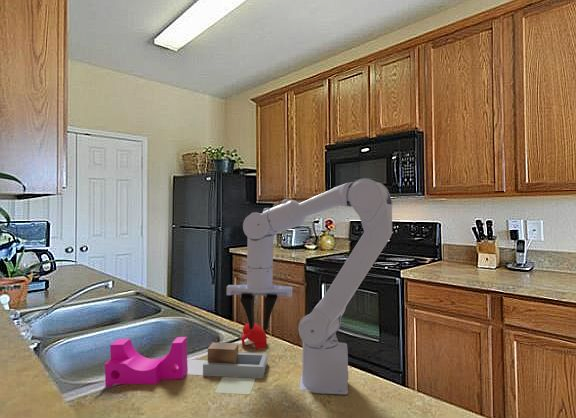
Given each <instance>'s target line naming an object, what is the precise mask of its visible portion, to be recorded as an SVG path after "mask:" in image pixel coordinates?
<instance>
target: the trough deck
mask: <svg viewBox="0 0 576 418" xmlns="http://www.w3.org/2000/svg"><path fill="white" fill-rule="evenodd" d="M267 364H268V354H267V353H252V352H250V353H249V352H238V364H226V363H208V359H207V360H204V359H187V368H188V371H187V373H186V374H185V376H186V375H187V376H206V377H208V376H210V377H211V376H212V377H232V378H255V379H263V378H264V375H265V372H266V370H267V369H266V368H267V366H268V365H267Z"/></svg>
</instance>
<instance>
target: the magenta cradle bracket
mask: <svg viewBox="0 0 576 418" xmlns="http://www.w3.org/2000/svg"><path fill="white" fill-rule="evenodd" d="M131 339H132V338H118V339H116V340H115V341H113V342H112V343H110V344H109V345H110V346H109V347H110V348H109V349H110V350H109V352H110V359H109V360H108V361H106V362H105V363H104V379H105V381H104V382H105V384H104V385H105V387H113V386H114V385H115V384H116V385H119V384H121V385H124V384H125V385H157V384H158V383H159V381H160V380H177V379H178V380H180V379H181V380H183V379H184V378H185V376H186V375H185V374H186V373H187V371H188V368H187V360H188V349H187V348H188V346H187V345H188V343H187V342H188V341H187V340H188V339H187V336H177V337H176V338H175V339H174V340H173V341H172V342H171V347H170V350H169V351H168V353H167V354H166V355H164V356H163V357H158V358H148V357H145V356H143V355H141V354H140V353H139V352H138V351H137V350H136V349H135V347H134V345H133V344H132V340H131Z"/></svg>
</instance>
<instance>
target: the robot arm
mask: <svg viewBox="0 0 576 418" xmlns="http://www.w3.org/2000/svg"><path fill="white" fill-rule="evenodd" d="M393 203H394V202H393V199H392V196H391V195H390V192H389V189H388V188H387V186H385V185H384V184H383V183H381V182H378V181H375V180H373V179H371V178H360V179H358V180H355V181H354V182H353V181H351V182H346V183H344V184H341V185H338V186H335V187H333V188H331V189H329V190H327V191H324V192H322V193H320V194H318V195H315V196H313V197H310V198H308V199H307V200H304V201H302V202H298V201H297V200H295V199H287V198H285V199H283V200H281V204H278V205H276V206H273V207H264V208H263V211H262V213H260V212H251V213H250V214H249V215H247V216H246V217H245V218H244V220H243V223H242V230H243V233H244V235H245V236H246V237H247V247H246V248H247V249H246V250H247V251H246V253H247V256H246V259H247V260H246V284H228V285H227V286H226V296H233V295H234V296H239V295H240V303H241V304H242V307H243V310H244V311H245V314H246V318H247V321H248V322H247V323H249V329H253V327H254V323H255V297H256V296H264V297H265V298H264V322H263V323H264V324H263V326H264V327H263V328H264V329H263V330H264V331H265V330H268V329H269V327H270V326H269V325H270V320H271V315H272V311H273V309H274V306H275V304H276V302H277V299H278V298H279V297H287V298H292V297H293V286H286V285H285V286H284V285H275V284H274V283H273V276H274V275H273V272H274V271H273V270H274V267H273V265H274V264H273V263H274V237H275V236H276V234H277V235H278V234H280V233H283V232H287V231H288V230H291V229H294V228H296V227H299V226H302V225H303V224H304V222H305V220H306V218H307V217H309V216H312V215H315V214H319V213H321V212H325V211H327V210H331V209H333V208H336V207H347V208H348V207H349V208H350V207H352V208H353V210H354V212H356V214H357V215H358V217H359V219H360V223H361V226H362V229H363V234H362V235H361V237H360V238H359V240H358V241H357V243H356V245H355V246H354V248H353V249H352V251H351V253H350V254H349V256H348V257H347V259H346V261H345V262H344V264H343V265H342V267H341V268H340V270H339V271H338V273H337V275H336V276H335V277H334V280H333V281H332V283H331V284H330V286H329V287H328V289H327V291H326V293H325V294H324V295H323V297H322V298H321V299H320V300H319V302H318V303H317V304H316V305H315V307H314V308H313V309H312V311H311V312H310V313H309V314H306V315H305V316H303V317H302V318H301V319H300V321H299V323H298V327H297V328H298V329H297V330H298V334H299V337H300V339H301V341H302V366H301V368H302V369H301V370H302V371H301V374H300V380H299V381H300V382H299V391H301V392H311V394H324V395H325V394H327V395H328V394H329V395H348V393H349V391H348V387H349V386H348V381H349V355H348V353H349V351H348V344H347V343H346V342H340V341H338V337H337V334H336V333H337V332H338V331H339V330H340V328H341V324H342V323H341V322H342V316H343V315H344V313H345V311H346V307H347V306H348V304H349V302H350V301H351V299H352V298H353V296H355V293H356V292H357V290H358V288H359V287H360V285H361V284H362V282H363V281H364V279H365V278H366V276H367V274H368V273H369V271H370V270H371V268H372V267H373V265H374V264H375V262H376V261H377V259H378V258H379V256H380V254H381V253H382V252H383V249H384V248H385V247H386V245H387V243H389V240H390V239H391V237H392V235H393Z"/></svg>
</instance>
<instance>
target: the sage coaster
mask: <svg viewBox="0 0 576 418" xmlns="http://www.w3.org/2000/svg"><path fill="white" fill-rule="evenodd" d="M255 381H256V378H250V377H228V376H221V379H220V382H219V383H218V385H217V386H216V389H215V391H214V394H227V395H228V394H229V395H231V394H233V395H251V393H252V391H253V386H254V383H255Z"/></svg>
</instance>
